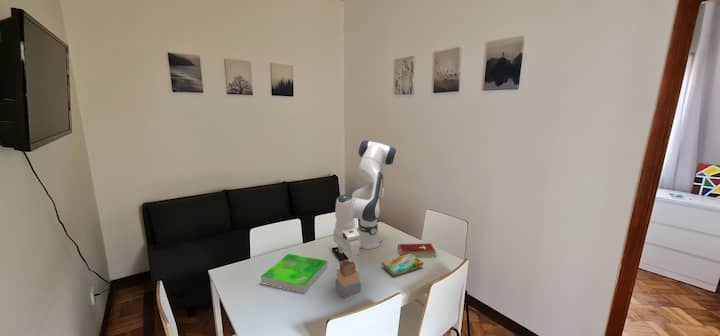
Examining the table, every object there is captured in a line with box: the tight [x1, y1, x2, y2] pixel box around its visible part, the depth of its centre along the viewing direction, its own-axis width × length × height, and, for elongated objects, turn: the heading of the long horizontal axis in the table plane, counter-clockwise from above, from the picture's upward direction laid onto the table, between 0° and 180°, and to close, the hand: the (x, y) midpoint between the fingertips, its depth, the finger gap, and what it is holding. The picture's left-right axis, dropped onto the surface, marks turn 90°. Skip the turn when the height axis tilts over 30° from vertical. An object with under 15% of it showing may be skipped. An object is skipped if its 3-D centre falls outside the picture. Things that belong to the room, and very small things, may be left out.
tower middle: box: [336, 268, 360, 287], centre depth 142 cm, size 8×8×5 cm
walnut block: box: [339, 258, 356, 276], centre depth 141 cm, size 6×6×5 cm
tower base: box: [335, 278, 362, 299], centre depth 143 cm, size 9×9×5 cm
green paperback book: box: [260, 253, 328, 294], centre depth 156 cm, size 25×25×5 cm
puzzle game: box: [381, 254, 424, 277], centre depth 163 cm, size 12×5×20 cm
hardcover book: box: [397, 243, 437, 259], centre depth 180 cm, size 12×21×4 cm, turn 92°
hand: (345, 257), depth 140 cm, fingers open, 8 cm apart
